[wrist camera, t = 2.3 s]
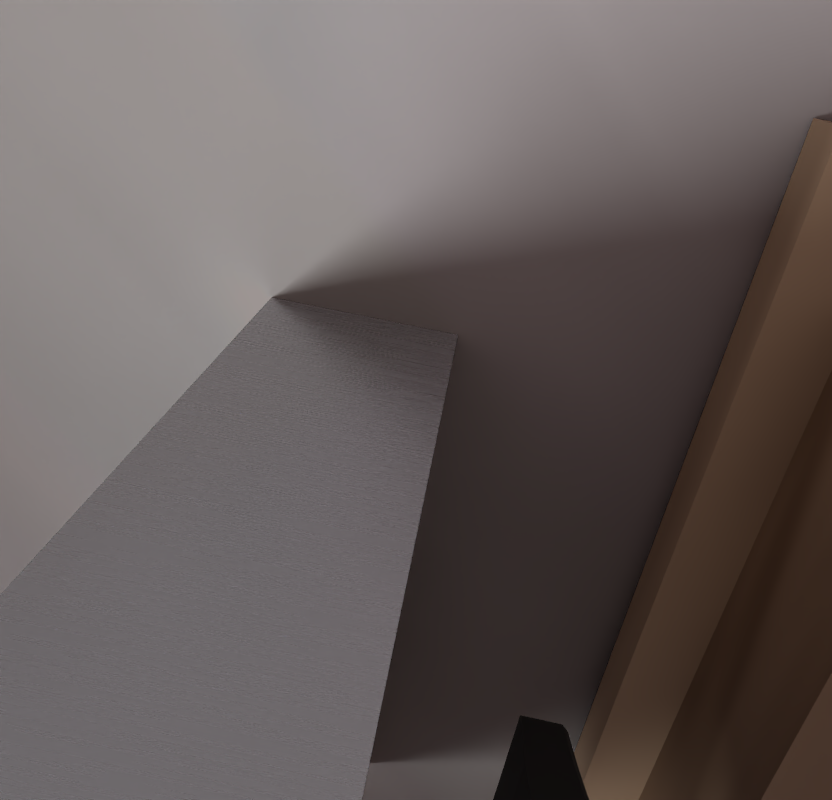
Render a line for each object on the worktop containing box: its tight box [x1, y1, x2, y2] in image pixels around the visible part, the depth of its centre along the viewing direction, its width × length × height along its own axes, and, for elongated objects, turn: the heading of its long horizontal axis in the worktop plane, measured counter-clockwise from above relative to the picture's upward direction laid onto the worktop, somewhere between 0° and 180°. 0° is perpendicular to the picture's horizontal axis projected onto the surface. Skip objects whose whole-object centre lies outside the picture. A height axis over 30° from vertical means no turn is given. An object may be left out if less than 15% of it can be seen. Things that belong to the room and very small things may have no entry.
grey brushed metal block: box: [0, 297, 458, 800], centre depth 11 cm, size 3×10×9 cm, turn 170°
